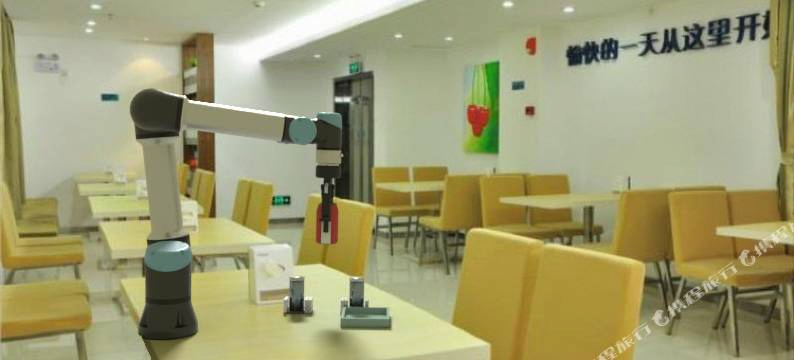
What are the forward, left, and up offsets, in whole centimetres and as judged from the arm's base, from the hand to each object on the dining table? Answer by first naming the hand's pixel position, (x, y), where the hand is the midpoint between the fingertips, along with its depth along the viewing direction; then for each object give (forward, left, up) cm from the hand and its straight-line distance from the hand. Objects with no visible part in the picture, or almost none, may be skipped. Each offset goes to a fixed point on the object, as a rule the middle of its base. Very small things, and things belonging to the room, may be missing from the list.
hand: (326, 241), depth 210 cm
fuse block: (0, 0, -21) cm, 21 cm away
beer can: (0, 0, -1) cm, 1 cm away
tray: (-10, -12, -21) cm, 26 cm away
